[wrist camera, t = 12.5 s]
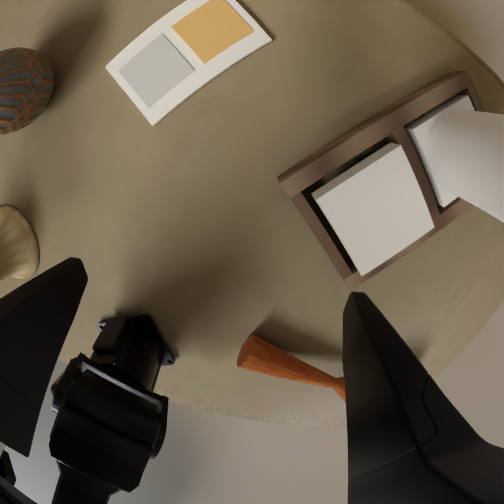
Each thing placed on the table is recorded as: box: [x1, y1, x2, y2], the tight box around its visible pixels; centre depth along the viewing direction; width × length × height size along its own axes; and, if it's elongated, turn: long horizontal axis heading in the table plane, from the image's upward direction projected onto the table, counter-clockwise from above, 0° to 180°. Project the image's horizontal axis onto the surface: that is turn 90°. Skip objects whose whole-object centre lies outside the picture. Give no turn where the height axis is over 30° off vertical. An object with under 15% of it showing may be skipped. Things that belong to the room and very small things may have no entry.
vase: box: [0, 48, 54, 135], centre depth 11 cm, size 7×7×9 cm
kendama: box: [237, 334, 346, 402], centre depth 26 cm, size 6×6×20 cm
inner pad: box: [311, 143, 434, 276], centre depth 18 cm, size 7×7×2 cm
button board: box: [277, 71, 484, 290], centre depth 18 cm, size 18×10×2 cm, turn 126°
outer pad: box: [404, 95, 474, 207], centre depth 17 cm, size 7×7×2 cm
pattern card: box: [105, 0, 272, 126], centre depth 15 cm, size 10×6×1 cm, turn 126°
